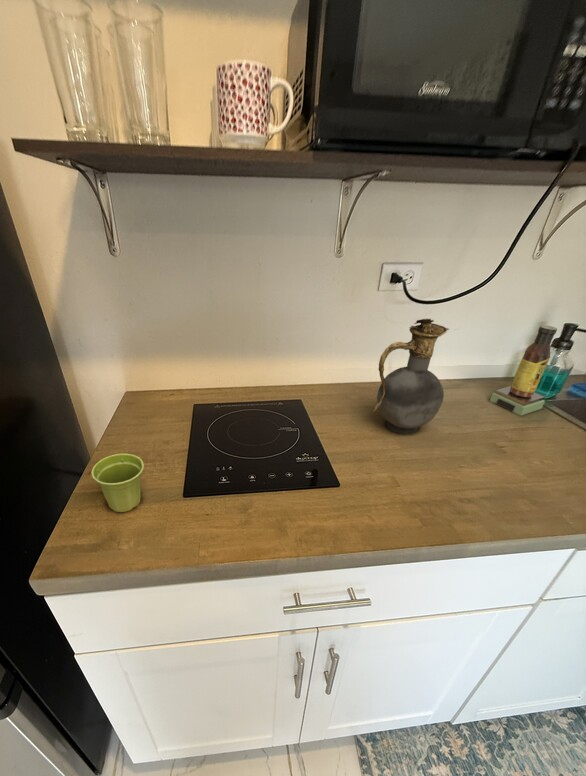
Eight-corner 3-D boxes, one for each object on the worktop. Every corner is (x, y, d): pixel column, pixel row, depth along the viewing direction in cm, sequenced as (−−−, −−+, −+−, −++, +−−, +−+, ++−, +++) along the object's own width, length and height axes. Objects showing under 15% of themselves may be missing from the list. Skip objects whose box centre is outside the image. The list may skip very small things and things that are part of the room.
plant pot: (151, 485, 82) (146, 451, 78) (146, 516, 75) (140, 481, 70) (105, 488, 81) (97, 454, 76) (96, 521, 73) (86, 485, 69)
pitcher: (439, 433, 103) (475, 321, 87) (376, 445, 98) (403, 327, 81) (413, 414, 111) (442, 308, 95) (355, 423, 106) (374, 313, 90)
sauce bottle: (531, 400, 112) (561, 332, 101) (507, 394, 115) (534, 327, 104) (534, 392, 116) (563, 327, 105) (510, 386, 119) (537, 322, 109)
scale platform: (514, 387, 121) (515, 384, 121) (543, 400, 114) (544, 397, 114) (494, 392, 118) (496, 390, 117) (523, 406, 111) (525, 403, 110)
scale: (510, 395, 123) (513, 387, 122) (541, 409, 116) (545, 400, 114) (488, 402, 119) (491, 393, 118) (519, 416, 112) (523, 407, 110)
